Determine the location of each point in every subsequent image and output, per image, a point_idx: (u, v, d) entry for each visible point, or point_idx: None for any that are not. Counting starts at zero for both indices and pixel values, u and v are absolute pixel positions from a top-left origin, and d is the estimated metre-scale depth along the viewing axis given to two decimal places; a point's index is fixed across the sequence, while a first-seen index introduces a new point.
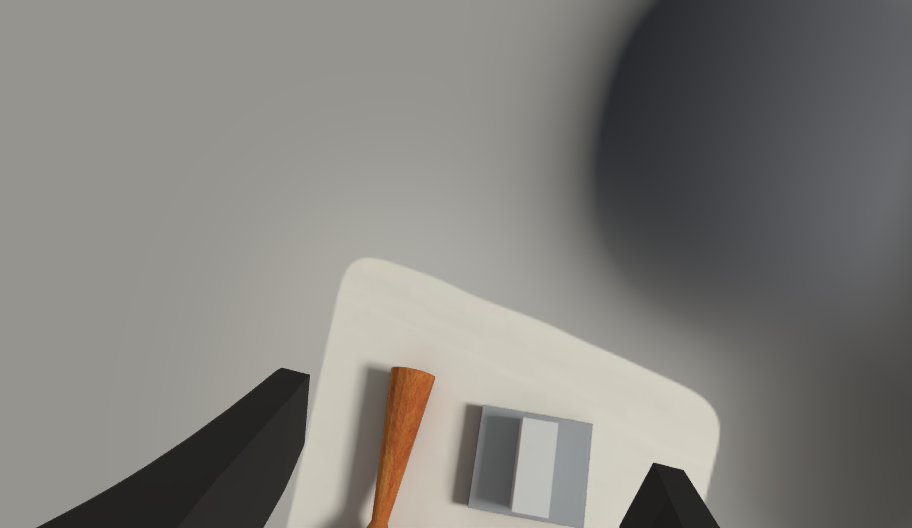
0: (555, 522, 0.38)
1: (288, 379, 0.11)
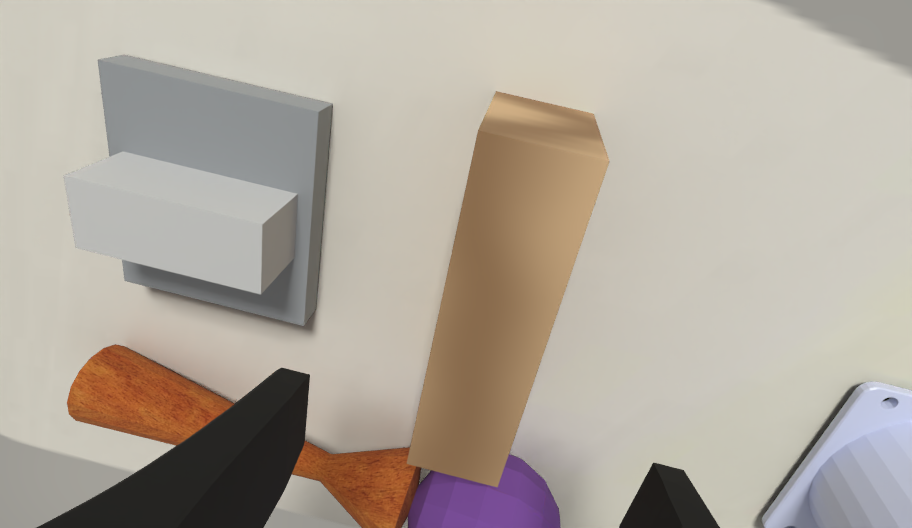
0: (312, 171, 0.17)
1: (289, 379, 0.11)
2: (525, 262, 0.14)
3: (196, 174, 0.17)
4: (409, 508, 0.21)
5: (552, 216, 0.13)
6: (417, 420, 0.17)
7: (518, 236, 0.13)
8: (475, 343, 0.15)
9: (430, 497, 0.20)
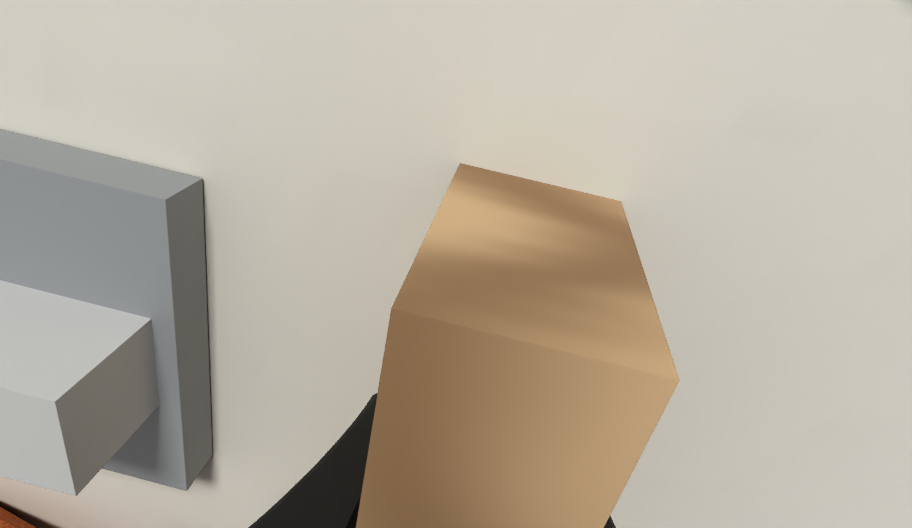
0: (168, 288, 0.11)
1: None
2: None
3: None
4: None
5: (553, 465, 0.06)
6: None
7: (484, 492, 0.07)
8: None
9: None
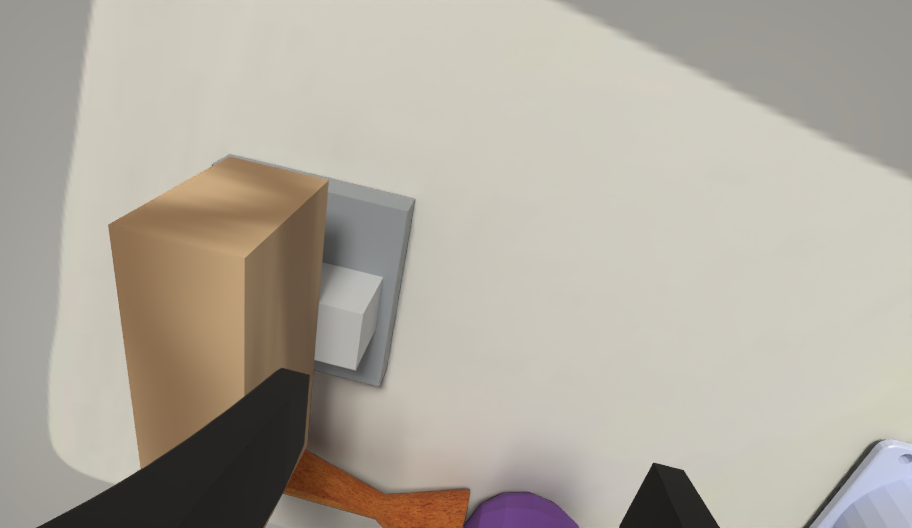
0: (397, 259, 0.20)
1: (288, 379, 0.11)
2: (197, 355, 0.13)
3: None
4: None
5: (207, 310, 0.12)
6: None
7: (181, 329, 0.13)
8: (176, 431, 0.14)
9: None
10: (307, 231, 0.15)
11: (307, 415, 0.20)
